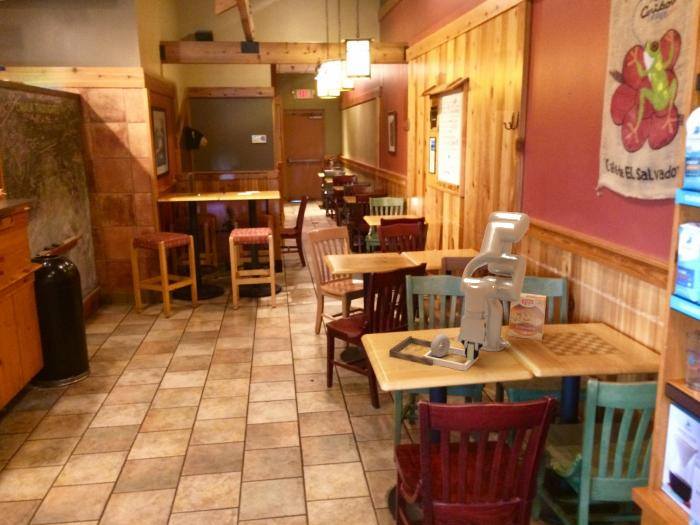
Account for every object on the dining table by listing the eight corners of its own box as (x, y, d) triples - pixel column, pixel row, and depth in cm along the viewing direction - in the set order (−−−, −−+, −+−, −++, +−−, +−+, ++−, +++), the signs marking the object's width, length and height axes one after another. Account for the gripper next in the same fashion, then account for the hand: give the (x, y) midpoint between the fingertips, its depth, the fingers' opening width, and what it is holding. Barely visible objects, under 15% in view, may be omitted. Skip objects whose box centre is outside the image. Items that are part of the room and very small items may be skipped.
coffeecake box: (507, 336, 272) (510, 295, 268) (509, 331, 279) (512, 291, 274) (541, 340, 267) (545, 299, 262) (543, 335, 273) (546, 295, 269)
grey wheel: (434, 360, 242) (435, 337, 240) (428, 358, 245) (429, 335, 243) (451, 355, 248) (452, 333, 246) (445, 353, 251) (446, 330, 249)
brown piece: (449, 350, 254) (449, 344, 253) (431, 366, 237) (431, 359, 236) (409, 342, 263) (409, 336, 262) (389, 356, 246) (389, 349, 246)
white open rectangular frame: (480, 358, 245) (481, 337, 243) (467, 371, 231) (468, 350, 229) (437, 349, 254) (438, 329, 252) (422, 361, 241) (423, 340, 239)
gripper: (496, 314, 233) (494, 358, 237) (458, 308, 241) (455, 350, 245) (491, 320, 227) (488, 364, 231) (451, 313, 235) (449, 356, 239)
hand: (471, 357), depth 238 cm, fingers closed on white open rectangular frame, 2 cm apart
